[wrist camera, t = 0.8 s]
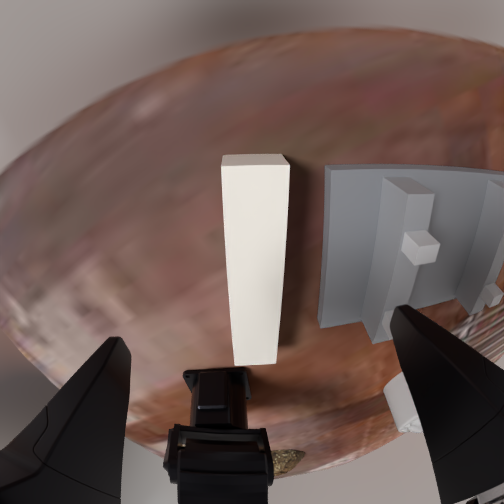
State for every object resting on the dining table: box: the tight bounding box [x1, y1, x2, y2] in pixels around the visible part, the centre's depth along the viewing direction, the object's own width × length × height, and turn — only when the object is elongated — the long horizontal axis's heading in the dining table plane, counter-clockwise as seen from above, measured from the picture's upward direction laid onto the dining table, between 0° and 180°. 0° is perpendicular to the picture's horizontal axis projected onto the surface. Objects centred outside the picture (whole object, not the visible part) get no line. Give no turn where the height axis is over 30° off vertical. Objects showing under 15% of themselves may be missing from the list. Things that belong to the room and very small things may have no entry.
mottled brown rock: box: [271, 450, 304, 476], centre depth 45 cm, size 13×12×5 cm
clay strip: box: [221, 154, 290, 366], centre depth 19 cm, size 16×3×3 cm, turn 0°
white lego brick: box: [383, 372, 423, 433], centre depth 29 cm, size 10×13×9 cm
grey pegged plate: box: [317, 164, 504, 344], centre depth 17 cm, size 20×13×6 cm, turn 95°
